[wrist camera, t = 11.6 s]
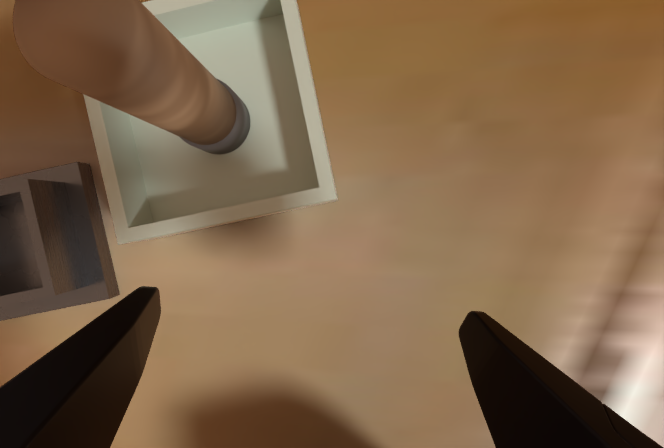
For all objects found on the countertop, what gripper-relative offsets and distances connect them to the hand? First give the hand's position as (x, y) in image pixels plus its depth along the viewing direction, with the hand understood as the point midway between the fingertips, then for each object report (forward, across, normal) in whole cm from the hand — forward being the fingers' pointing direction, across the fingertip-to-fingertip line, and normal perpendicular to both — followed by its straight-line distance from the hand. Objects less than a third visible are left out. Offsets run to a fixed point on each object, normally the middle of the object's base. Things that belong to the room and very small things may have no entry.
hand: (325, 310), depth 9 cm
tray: (+16, +5, 0) cm, 17 cm away
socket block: (+14, +17, +9) cm, 23 cm away
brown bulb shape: (+15, +6, 0) cm, 16 cm away
